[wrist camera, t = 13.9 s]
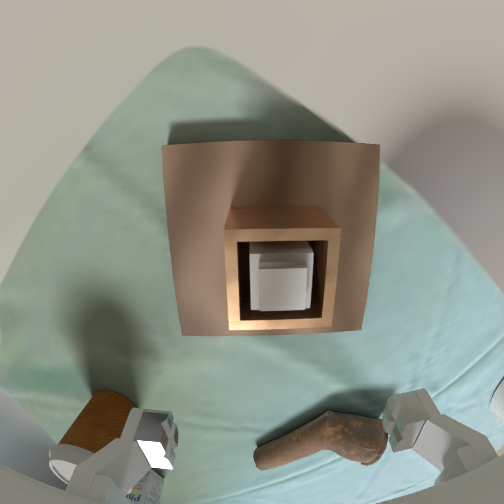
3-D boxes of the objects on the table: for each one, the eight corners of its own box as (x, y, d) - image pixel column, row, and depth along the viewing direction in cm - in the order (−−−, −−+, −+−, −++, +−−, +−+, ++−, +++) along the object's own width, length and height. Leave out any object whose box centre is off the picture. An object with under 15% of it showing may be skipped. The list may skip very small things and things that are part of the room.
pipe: (240, 473, 30) (290, 503, 31) (363, 414, 27) (402, 453, 28) (247, 438, 37) (292, 470, 38) (353, 378, 33) (390, 419, 34)
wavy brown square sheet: (372, 144, 22) (427, 150, 14) (356, 321, 28) (386, 381, 20) (166, 145, 22) (125, 149, 14) (184, 326, 28) (165, 390, 20)
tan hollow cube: (319, 205, 23) (341, 228, 17) (314, 285, 25) (331, 326, 19) (230, 206, 23) (223, 229, 17) (233, 287, 25) (229, 330, 19)
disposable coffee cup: (164, 428, 34) (146, 507, 22) (106, 430, 35) (81, 497, 23) (127, 376, 31) (91, 461, 19) (68, 382, 31) (28, 451, 20)
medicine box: (151, 466, 38) (140, 511, 30) (165, 479, 39) (157, 521, 31) (113, 465, 39) (100, 505, 30) (127, 478, 40) (117, 516, 32)
